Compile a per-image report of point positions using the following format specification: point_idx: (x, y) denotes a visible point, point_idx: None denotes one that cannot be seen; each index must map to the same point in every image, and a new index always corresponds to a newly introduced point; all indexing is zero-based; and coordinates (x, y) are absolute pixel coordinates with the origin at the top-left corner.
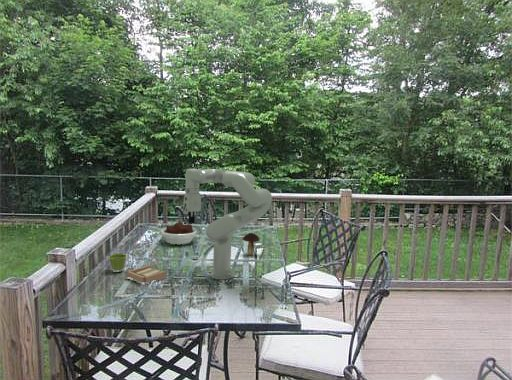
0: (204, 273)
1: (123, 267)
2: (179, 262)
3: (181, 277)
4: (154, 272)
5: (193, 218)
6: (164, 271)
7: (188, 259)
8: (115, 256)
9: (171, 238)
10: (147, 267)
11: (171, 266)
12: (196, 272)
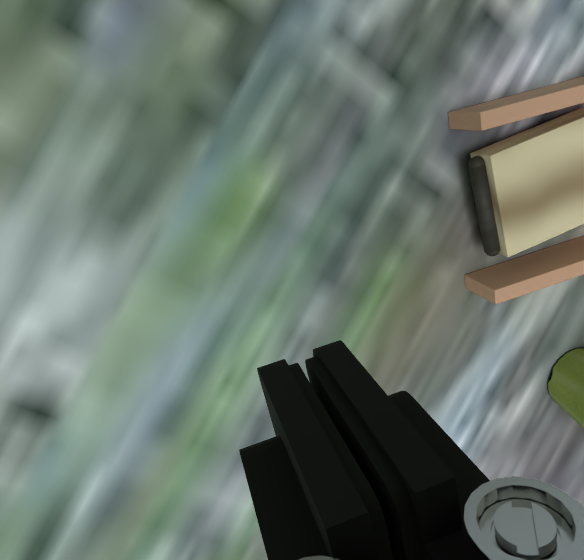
0: (138, 33)
1: (581, 366)
2: (192, 386)
3: (350, 64)
4: (537, 149)
5: (360, 448)
6: (489, 114)
7: (91, 425)
8: None
9: None
10: (506, 282)
11: (287, 328)
12: (189, 100)
